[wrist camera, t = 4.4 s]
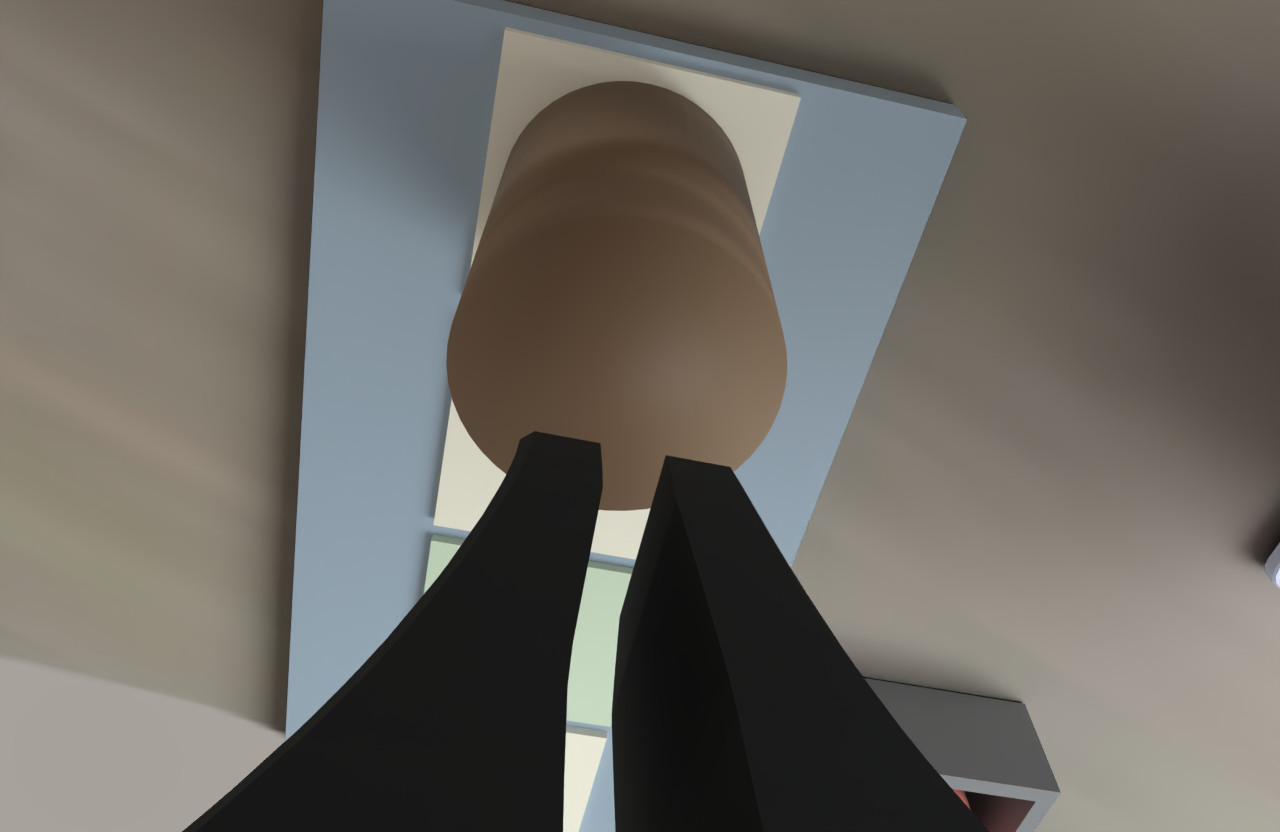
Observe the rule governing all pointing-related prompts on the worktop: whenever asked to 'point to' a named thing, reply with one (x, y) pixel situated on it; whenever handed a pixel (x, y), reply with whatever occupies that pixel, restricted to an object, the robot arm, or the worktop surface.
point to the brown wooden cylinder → (620, 294)
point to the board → (440, 264)
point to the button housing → (978, 751)
